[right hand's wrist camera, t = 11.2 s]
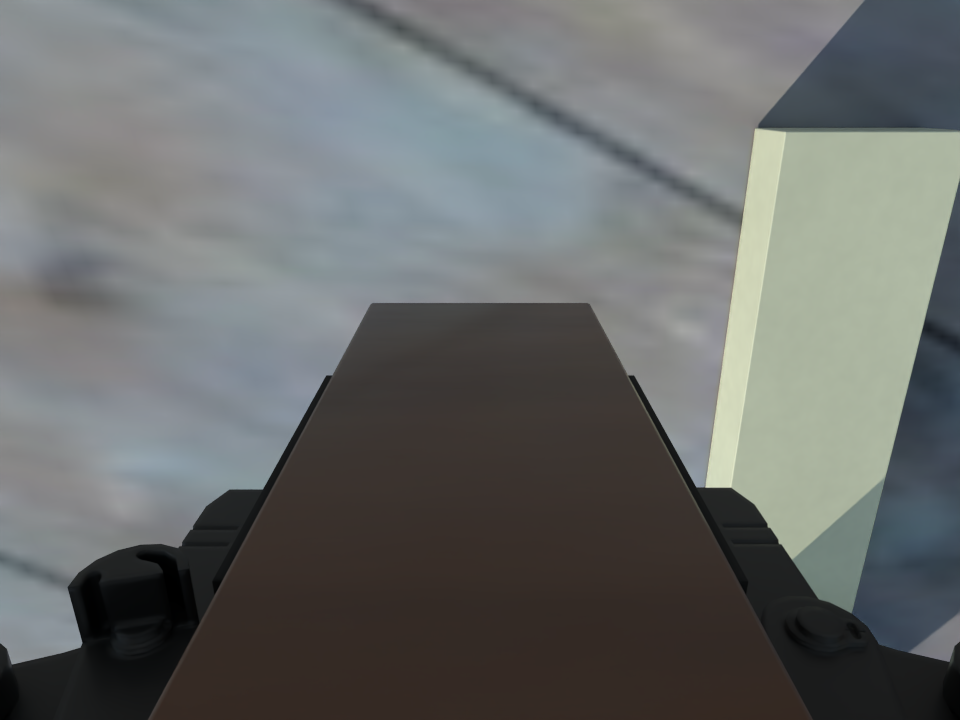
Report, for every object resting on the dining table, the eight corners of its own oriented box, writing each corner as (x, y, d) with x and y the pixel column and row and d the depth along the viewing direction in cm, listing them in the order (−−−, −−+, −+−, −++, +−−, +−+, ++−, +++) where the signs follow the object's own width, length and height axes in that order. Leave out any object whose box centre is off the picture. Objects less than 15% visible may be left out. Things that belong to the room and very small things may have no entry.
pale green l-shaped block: (755, 127, 28) (913, 145, 18) (923, 127, 28) (1178, 145, 18) (686, 623, 38) (764, 821, 27) (812, 622, 38) (937, 820, 27)
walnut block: (369, 301, 15) (75, 843, 4) (590, 302, 15) (885, 845, 4) (381, 492, 17) (197, 1226, 6) (578, 492, 17) (763, 1228, 6)
